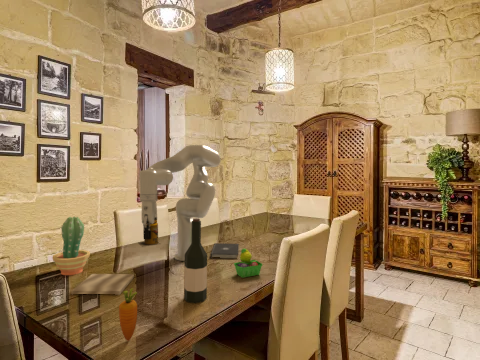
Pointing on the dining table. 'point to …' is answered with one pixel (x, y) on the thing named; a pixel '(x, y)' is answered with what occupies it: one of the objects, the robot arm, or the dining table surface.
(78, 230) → the potted cactus
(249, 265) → the fruit basket
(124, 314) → the carrot
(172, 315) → the dining table surface
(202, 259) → the wine bottle
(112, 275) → the board
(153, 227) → the condiment
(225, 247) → the book
